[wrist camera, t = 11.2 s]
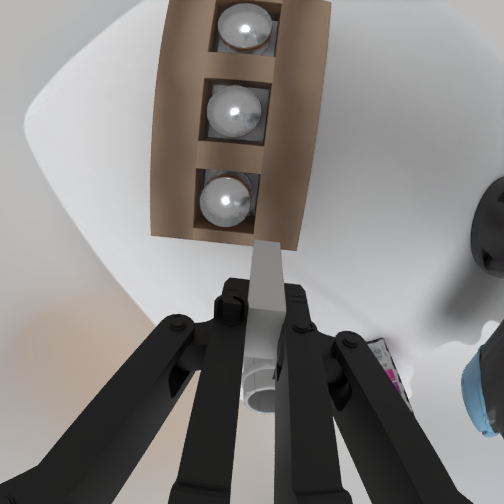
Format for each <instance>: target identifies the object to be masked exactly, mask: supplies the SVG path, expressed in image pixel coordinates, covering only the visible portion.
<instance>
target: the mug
mask: <svg viewBox="0 0 504 504" xmlns="http://www.w3.org/2000/svg"><path fill="white" fill-rule="evenodd" d="M276 362H277V354H276V358H275V359H263V358H253V357H243V363H244V372H243V373H242V387H243V389H244V404H245V406H246V407H247V408H248V409H250V410H251V411H253V412H256V413H261V414H275V379H272V378H273V374H274V370H275V366H276Z"/></svg>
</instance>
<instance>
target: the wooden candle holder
mask: <svg viewBox="0 0 504 504" xmlns="http://www.w3.org/2000/svg"><path fill="white" fill-rule="evenodd" d="M243 3H249V4H254V5H257V6H260V7H261V8H263V9H264V10H266V11H267V13H268V14H269V15H270V17H271V20H274V21H278V26H277V34H276V42H275V50H274V57H270V56H261V55H251V54H238V53H219V52H217V51H218V44H219V37H220V34H219V30H218V21H219V18H220V16H221V15H222V13H223V12H224V11H225V10H227V9H228V8H230V7H232V6H234V5H237V4H243ZM330 14H331V2H328V1H323V0H169V5H168V10H167V15H166V20H165V25H164V31H163V37H162V43H161V49H160V56H159V64H158V71H157V80H156V89H155V99H154V111H153V125H152V142H151V170H150V219H151V236H160V237H170V238H179V239H189V240H199V241H208V242H218V243H227V244H236V245H246V246H254V240H262V241H270V242H279V243H280V248H281V249H282V250H291V251H297V246H298V240H299V235H300V230H301V225H302V219H303V214H304V208H305V203H306V197H307V191H308V185H309V179H310V173H311V167H312V161H313V154H314V148H315V141H316V135H317V128H318V121H319V113H320V106H321V98H322V91H323V82H324V74H325V65H326V56H327V47H328V37H329V26H330ZM213 85H227V86H233V85H236V86H242V87H252V88H261V89H270V91H269V99H268V107H267V115H266V123H265V131H264V140H263V142H255V141H245V140H235V139H223V138H209V137H208V130H209V120H208V117H207V106H208V103H209V101H210V99H211V97H212V91H213ZM205 169H214V170H225V171H236V172H246V173H255V174H259V181H258V189H257V197H256V205H255V214H254V216H246V217H245V219H244V220H243V221H241V222H240V223H239V224H237V225H234V226H230V227H221V226H217V225H215V224H213V223H211V222H210V221H208V220H207V219H206V218H205V216H204V215H203V213H202V211H201V208H200V197H201V194H202V191H203V189H204V179H205Z"/></svg>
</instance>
